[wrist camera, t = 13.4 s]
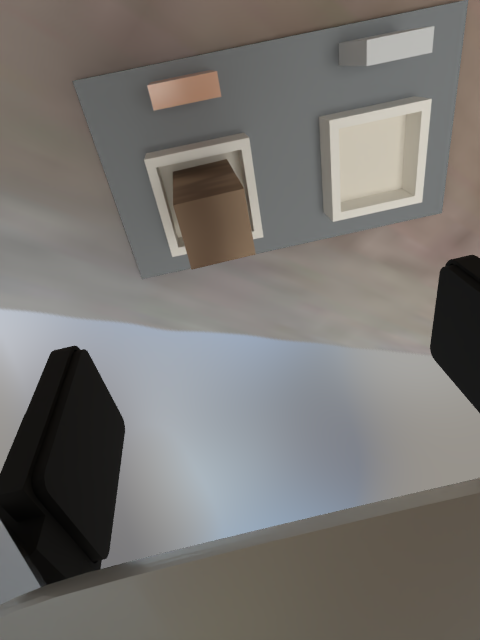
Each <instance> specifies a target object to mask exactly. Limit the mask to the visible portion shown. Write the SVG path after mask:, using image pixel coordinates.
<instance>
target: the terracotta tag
mask: <svg viewBox="0 0 480 640" xmlns="http://www.w3.org/2000/svg"><path fill="white" fill-rule="evenodd" d="M147 87H148V91H149V94H150V98H151V102H152V106H153V110H154V111H155V110H160V109H164V108H169V107H174V106H179V105H184V104H188V103H193V102H198V101H203V100H208V99H212V98H217V97H221V92H220V86H219V80H218V74H217V71H214V70H207V71H202V72H197V73H193V74H188V75H183V76H178V77H173V78H168V79H164V80H159V81H154V82H150V83H149V84H148V85H147Z"/></svg>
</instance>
